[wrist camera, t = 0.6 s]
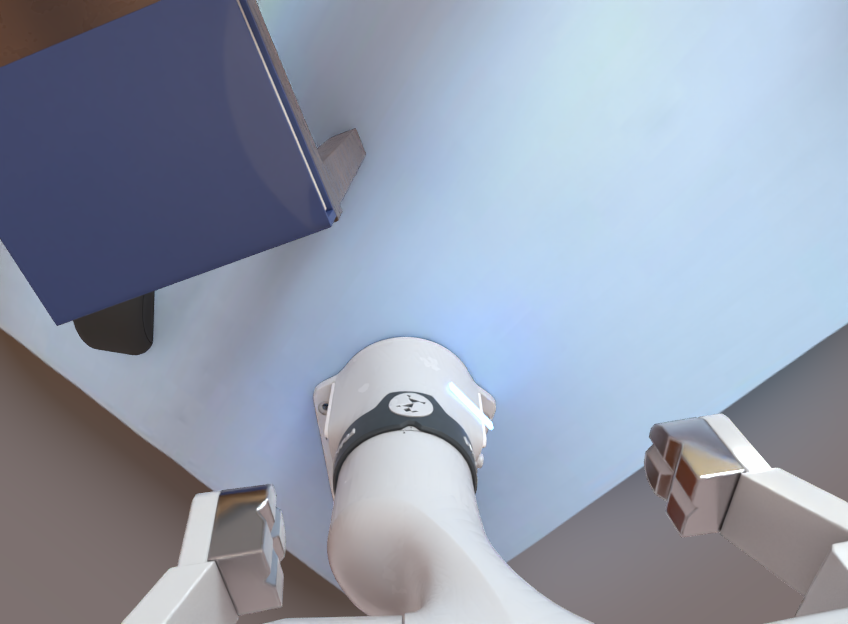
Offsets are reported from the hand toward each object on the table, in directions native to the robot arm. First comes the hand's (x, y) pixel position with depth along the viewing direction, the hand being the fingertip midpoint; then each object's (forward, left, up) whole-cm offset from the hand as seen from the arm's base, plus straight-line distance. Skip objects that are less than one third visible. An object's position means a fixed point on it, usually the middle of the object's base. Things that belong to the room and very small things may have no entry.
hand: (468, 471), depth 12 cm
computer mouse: (-14, +27, -43) cm, 53 cm away
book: (+3, +13, -18) cm, 22 cm away
